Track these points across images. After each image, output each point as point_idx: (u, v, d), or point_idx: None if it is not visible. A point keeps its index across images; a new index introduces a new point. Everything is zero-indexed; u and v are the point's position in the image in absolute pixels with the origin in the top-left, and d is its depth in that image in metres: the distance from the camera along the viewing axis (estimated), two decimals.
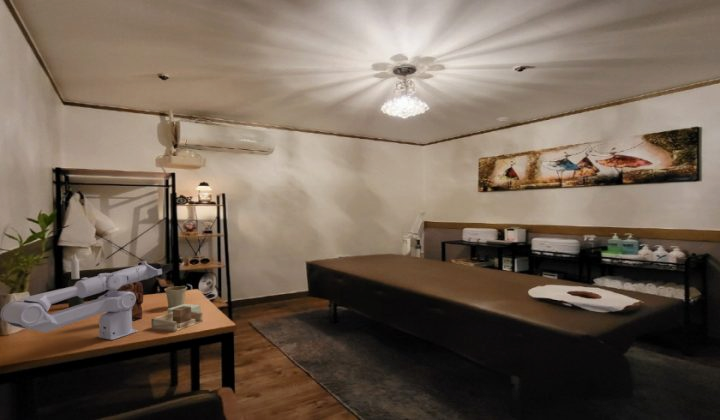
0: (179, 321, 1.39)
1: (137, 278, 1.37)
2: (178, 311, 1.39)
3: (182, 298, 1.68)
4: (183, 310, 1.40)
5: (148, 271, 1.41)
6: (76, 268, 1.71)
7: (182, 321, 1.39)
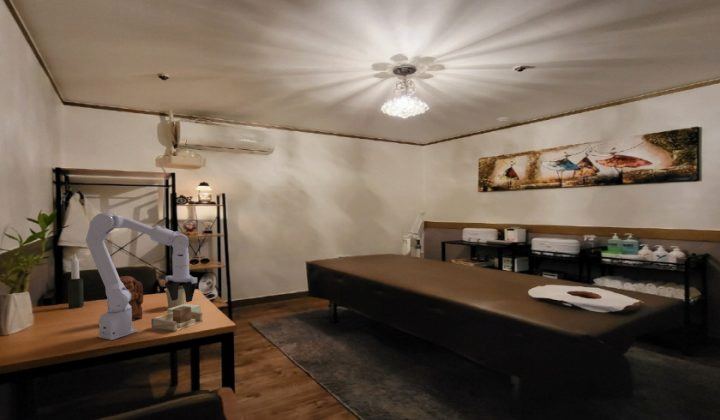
0: (179, 321, 1.39)
1: (177, 265, 1.39)
2: (178, 311, 1.39)
3: (182, 298, 1.68)
4: (183, 310, 1.40)
5: (187, 276, 1.41)
6: (76, 268, 1.71)
7: (182, 321, 1.39)
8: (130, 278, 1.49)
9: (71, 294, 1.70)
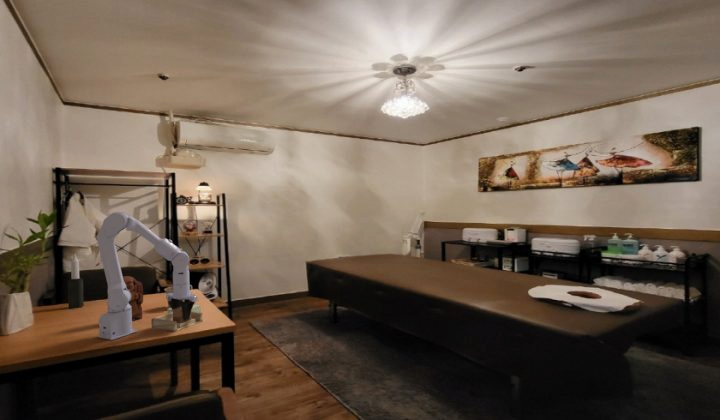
0: (179, 321, 1.39)
1: (177, 283, 1.39)
2: (178, 311, 1.39)
3: None
4: None
5: (187, 294, 1.41)
6: (76, 268, 1.71)
7: (182, 321, 1.39)
8: (130, 278, 1.49)
9: (71, 294, 1.70)
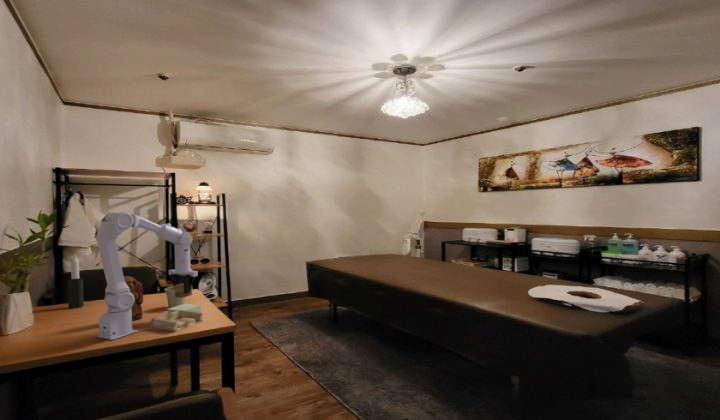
0: (181, 295, 1.50)
1: (183, 259, 1.50)
2: (180, 286, 1.50)
3: (182, 298, 1.68)
4: None
5: (188, 269, 1.52)
6: (76, 268, 1.71)
7: (184, 296, 1.51)
8: (130, 278, 1.49)
9: (71, 294, 1.70)
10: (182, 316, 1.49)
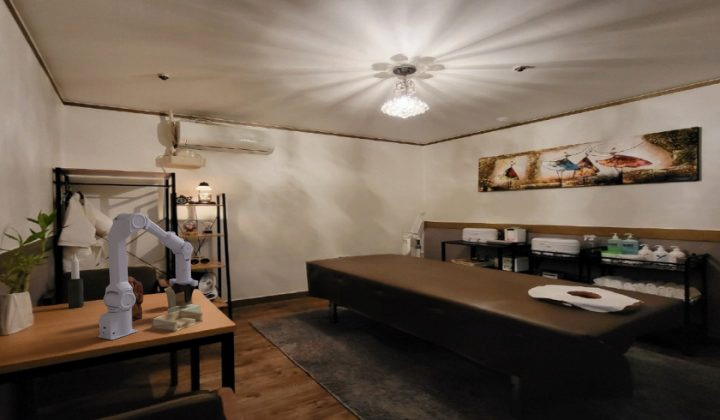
0: (181, 304, 1.54)
1: (184, 269, 1.55)
2: (180, 295, 1.54)
3: None
4: None
5: (189, 279, 1.56)
6: (76, 268, 1.71)
7: (184, 304, 1.55)
8: (130, 278, 1.49)
9: (71, 294, 1.70)
10: (182, 316, 1.49)
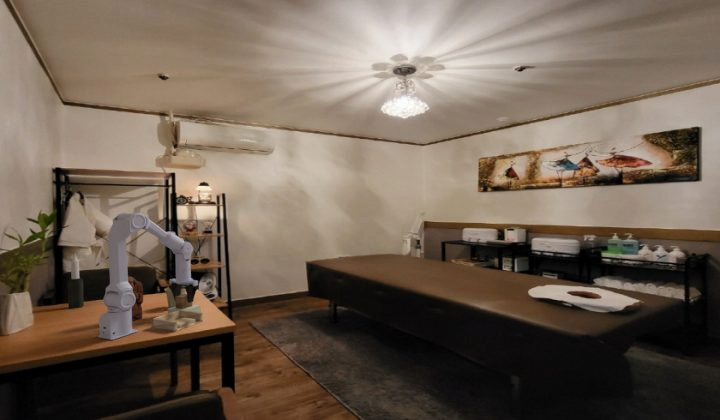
0: (181, 307, 1.54)
1: (184, 269, 1.55)
2: (180, 298, 1.54)
3: None
4: (185, 297, 1.55)
5: (189, 279, 1.56)
6: (76, 268, 1.71)
7: (184, 307, 1.55)
8: (130, 278, 1.49)
9: (71, 294, 1.70)
10: (182, 316, 1.49)
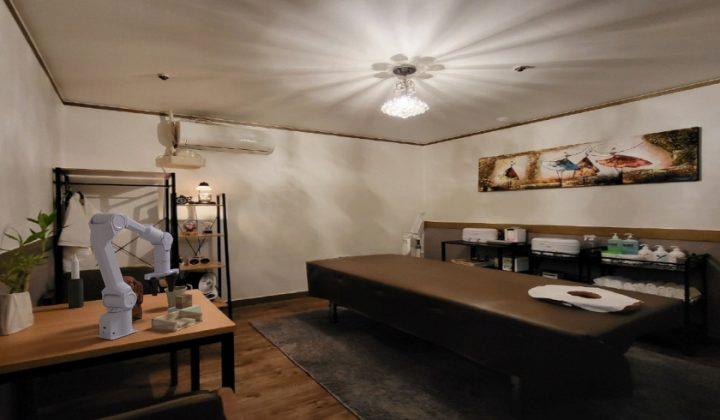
0: (181, 307, 1.54)
1: (165, 260, 1.51)
2: (180, 298, 1.54)
3: None
4: (185, 297, 1.55)
5: (156, 271, 1.50)
6: (76, 268, 1.71)
7: (184, 307, 1.55)
8: (130, 278, 1.49)
9: (71, 294, 1.70)
10: (182, 316, 1.49)
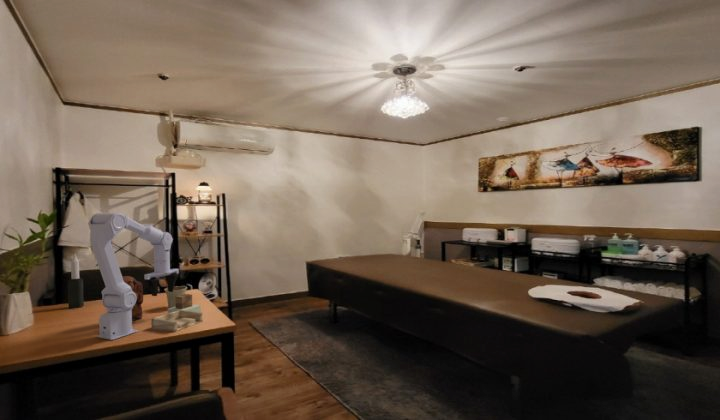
0: (181, 307, 1.54)
1: (164, 260, 1.51)
2: (180, 298, 1.54)
3: None
4: (185, 297, 1.55)
5: (156, 271, 1.50)
6: (76, 268, 1.71)
7: (184, 307, 1.55)
8: (130, 278, 1.49)
9: (71, 294, 1.70)
10: (182, 316, 1.49)
